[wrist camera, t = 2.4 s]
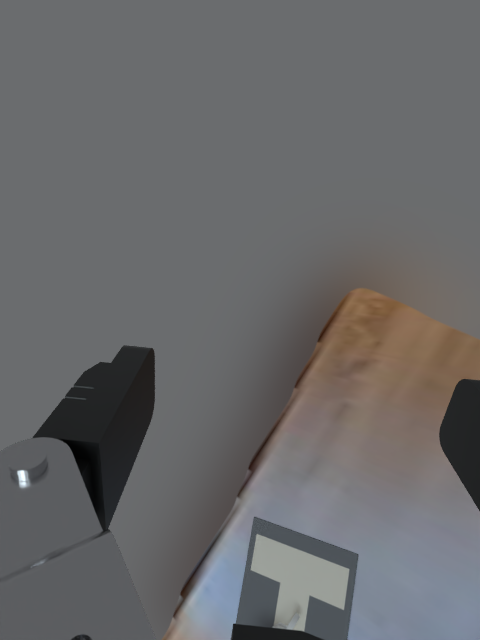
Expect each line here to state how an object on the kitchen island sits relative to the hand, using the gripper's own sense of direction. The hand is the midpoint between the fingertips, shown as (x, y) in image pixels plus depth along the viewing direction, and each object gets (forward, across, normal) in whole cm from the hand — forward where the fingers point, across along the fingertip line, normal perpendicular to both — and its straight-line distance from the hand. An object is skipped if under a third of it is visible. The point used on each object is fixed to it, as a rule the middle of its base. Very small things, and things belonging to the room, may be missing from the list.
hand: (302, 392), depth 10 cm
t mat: (+30, +11, -62) cm, 70 cm away
